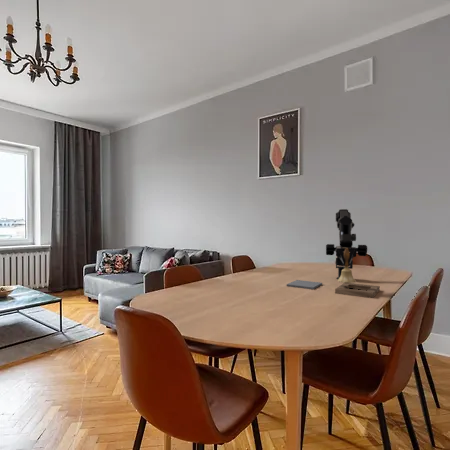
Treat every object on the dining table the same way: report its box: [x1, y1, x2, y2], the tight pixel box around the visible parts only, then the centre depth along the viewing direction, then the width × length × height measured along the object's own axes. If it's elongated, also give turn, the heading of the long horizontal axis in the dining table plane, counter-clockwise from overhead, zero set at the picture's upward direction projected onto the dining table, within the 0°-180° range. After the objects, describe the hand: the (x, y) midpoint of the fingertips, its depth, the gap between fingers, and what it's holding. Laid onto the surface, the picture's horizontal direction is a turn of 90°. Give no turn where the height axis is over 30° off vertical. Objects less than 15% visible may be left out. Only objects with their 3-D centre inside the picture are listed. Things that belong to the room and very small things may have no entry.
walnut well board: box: [334, 282, 380, 299], centre depth 147 cm, size 18×16×2 cm
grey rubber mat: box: [286, 279, 323, 290], centre depth 162 cm, size 14×14×1 cm
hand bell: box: [336, 248, 357, 284], centre depth 149 cm, size 8×8×16 cm
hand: (346, 263), depth 147 cm, fingers closed on hand bell
